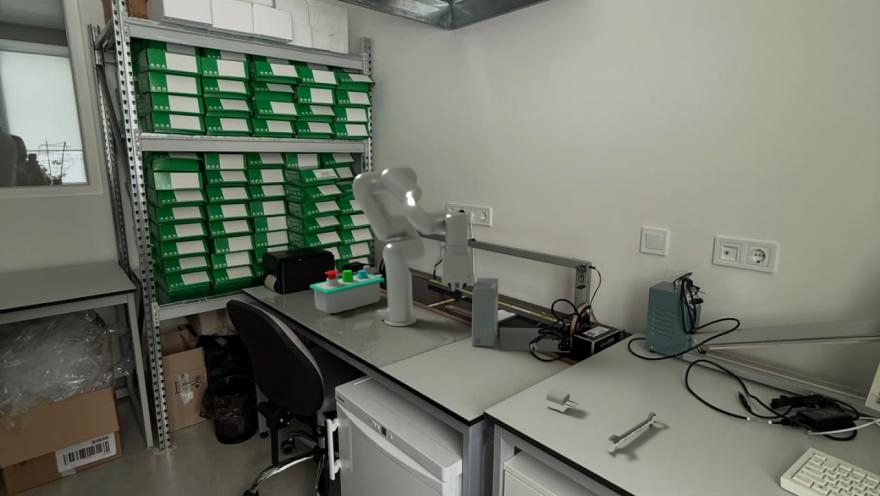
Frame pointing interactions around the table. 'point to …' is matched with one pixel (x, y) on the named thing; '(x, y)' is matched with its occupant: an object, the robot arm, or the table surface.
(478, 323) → the hard drive box
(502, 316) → the phone case
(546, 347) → the mat
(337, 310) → the control panel
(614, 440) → the combination wrench
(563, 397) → the usb wall charger
